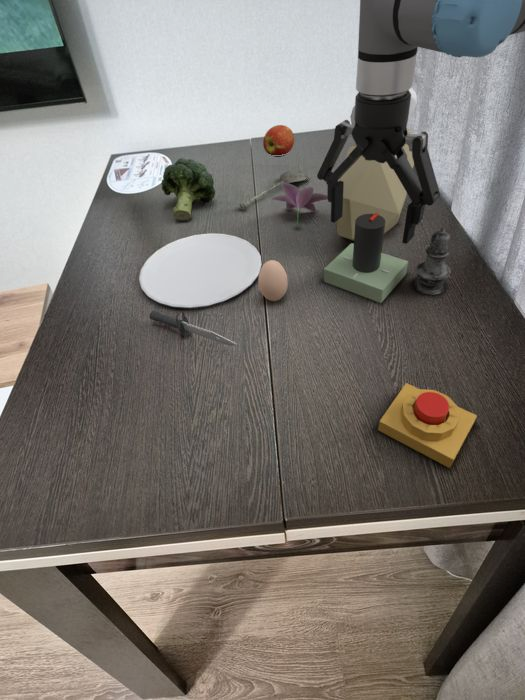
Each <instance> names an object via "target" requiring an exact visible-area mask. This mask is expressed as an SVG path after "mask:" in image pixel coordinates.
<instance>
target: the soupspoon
mask: <svg viewBox="0 0 525 700" xmlns="http://www.w3.org/2000/svg"><path fill="white" fill-rule="evenodd" d="M305 176H306V175H305V174H303V173H302V172H299V171H297V170H288V171H284V172H283V173H282V174H280V176H279V182H276V183H275V184H273V185H271V186H269V187H267V188H266V189H265V190H263V191H262V192H260V193H258V194H257V195H255V196H254V197H252V198H251V199H248V200H247V201H245V202H242V203H239V208H240V210H242V211H245V209H246V208H247V207H248V206H249V205H250V204H251V203H253V201H255V200H256V199H258V198H260V197H262V196H263V195H265V194H267V193H268V192H270V191H271V190H273V189H276V188H278V187H280V186H281V184H280V182H285V183H289V184H291V183H297V182H302V181H307V180H308V177H307V176H306V177H305ZM306 178H307V179H306ZM305 179H306V180H305Z"/></svg>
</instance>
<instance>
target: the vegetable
mask: <svg viewBox="0 0 525 700" xmlns="http://www.w3.org/2000/svg"><path fill="white" fill-rule="evenodd" d="M214 182H215V181H214V178H213V174H212V173H210V172H209V171H208V170H207V168H206V165H204V163H201V162H198V161H197V160H195V159H193V158H190V159H189V158H188V159H187V158H184V157H181V158H178V159H177V160H176V161H175V162H174V163H173V164H169V165H167V166H166V167H165V169H164V171H163V175H162V179H161V190H162V191H163V193H164V195H165V196H170V195H171V194H174V195H175V196H176V199H177V203H176V206H174V207H173V208H172V209H173V216H174V218H175V219H177V220H179V221H182V222H186V221H189V220H190V219H191V218H192V209H193V208H192V206H193V203H194V202H195V201H196V199H199V201H200V203H202V204H209V203H210V202H211V201H213V199H214V198H215V196H216V190H215V187H214V184H215V183H214Z"/></svg>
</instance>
